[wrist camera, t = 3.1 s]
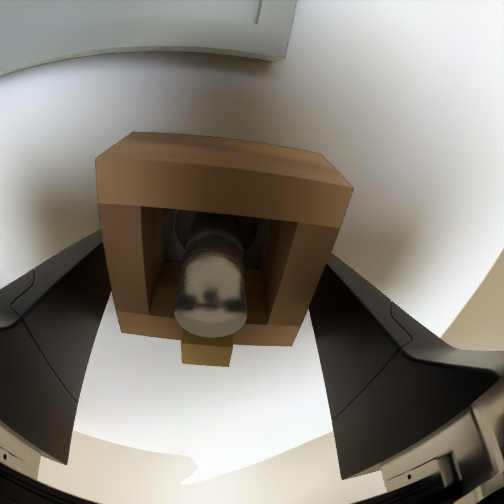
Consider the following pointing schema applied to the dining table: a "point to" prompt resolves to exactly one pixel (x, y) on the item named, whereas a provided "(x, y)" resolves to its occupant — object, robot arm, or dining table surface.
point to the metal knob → (212, 271)
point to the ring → (225, 202)
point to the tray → (140, 28)
